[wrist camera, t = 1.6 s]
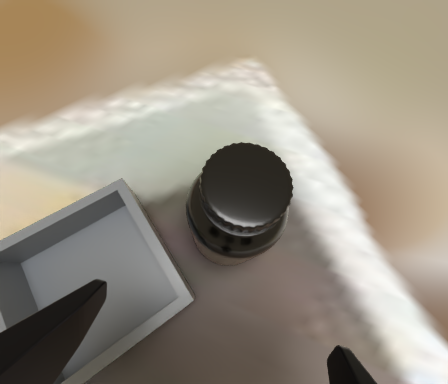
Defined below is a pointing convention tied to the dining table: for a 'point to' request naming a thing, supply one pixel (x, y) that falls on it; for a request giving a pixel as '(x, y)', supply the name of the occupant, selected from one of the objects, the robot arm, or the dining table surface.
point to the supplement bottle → (239, 203)
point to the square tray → (94, 274)
